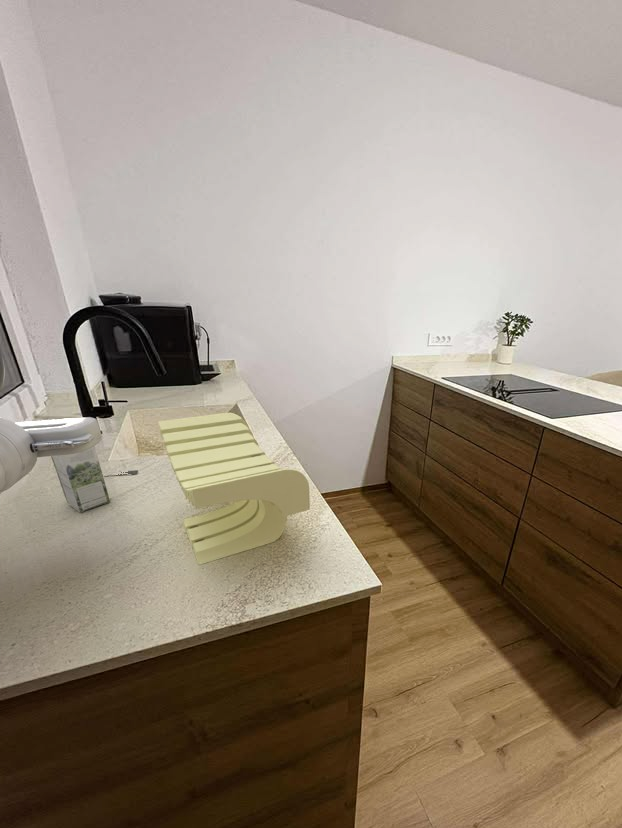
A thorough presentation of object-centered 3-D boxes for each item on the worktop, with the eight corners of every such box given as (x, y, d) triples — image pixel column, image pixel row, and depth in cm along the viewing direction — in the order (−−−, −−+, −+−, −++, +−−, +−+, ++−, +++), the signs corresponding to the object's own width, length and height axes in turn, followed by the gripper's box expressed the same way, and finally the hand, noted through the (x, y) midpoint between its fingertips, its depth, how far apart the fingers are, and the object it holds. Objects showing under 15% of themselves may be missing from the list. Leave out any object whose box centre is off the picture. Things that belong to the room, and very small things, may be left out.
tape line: (77, 478, 87) (77, 478, 87) (80, 474, 89) (80, 474, 89) (136, 474, 90) (136, 473, 90) (138, 470, 92) (138, 470, 92)
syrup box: (97, 493, 81) (77, 428, 75) (111, 502, 78) (91, 435, 72) (67, 504, 77) (42, 436, 71) (80, 514, 74) (56, 443, 68)
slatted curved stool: (311, 562, 64) (308, 465, 56) (211, 597, 56) (192, 490, 48) (252, 487, 86) (244, 410, 78) (175, 505, 78) (158, 421, 70)
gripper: (79, 420, 49) (106, 400, 61) (-134, 436, 43) (-57, 411, 55) (92, 466, 52) (116, 439, 64) (-107, 487, 46) (-39, 452, 58)
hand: (34, 426), depth 59 cm, fingers open, 8 cm apart
